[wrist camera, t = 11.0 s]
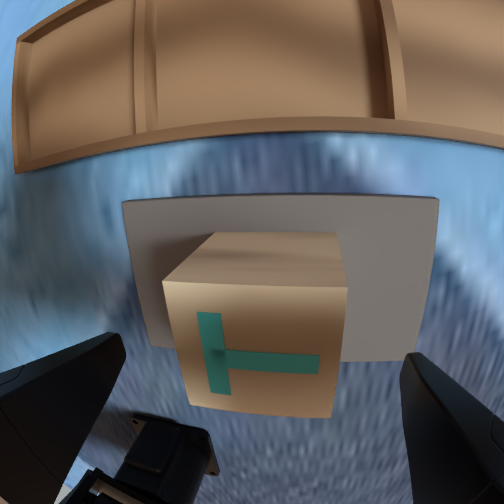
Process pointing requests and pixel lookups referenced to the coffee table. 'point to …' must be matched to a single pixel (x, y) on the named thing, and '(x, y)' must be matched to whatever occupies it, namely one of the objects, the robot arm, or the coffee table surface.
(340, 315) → the letter block
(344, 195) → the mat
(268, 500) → the coffee table surface
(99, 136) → the bay tray
